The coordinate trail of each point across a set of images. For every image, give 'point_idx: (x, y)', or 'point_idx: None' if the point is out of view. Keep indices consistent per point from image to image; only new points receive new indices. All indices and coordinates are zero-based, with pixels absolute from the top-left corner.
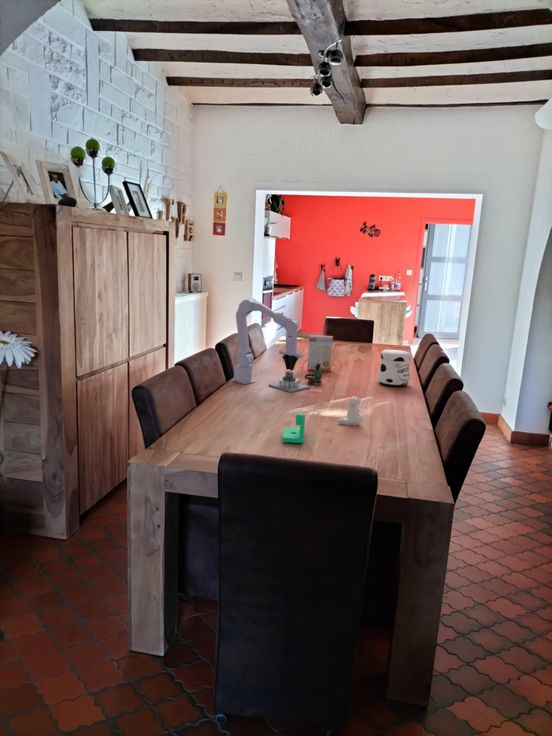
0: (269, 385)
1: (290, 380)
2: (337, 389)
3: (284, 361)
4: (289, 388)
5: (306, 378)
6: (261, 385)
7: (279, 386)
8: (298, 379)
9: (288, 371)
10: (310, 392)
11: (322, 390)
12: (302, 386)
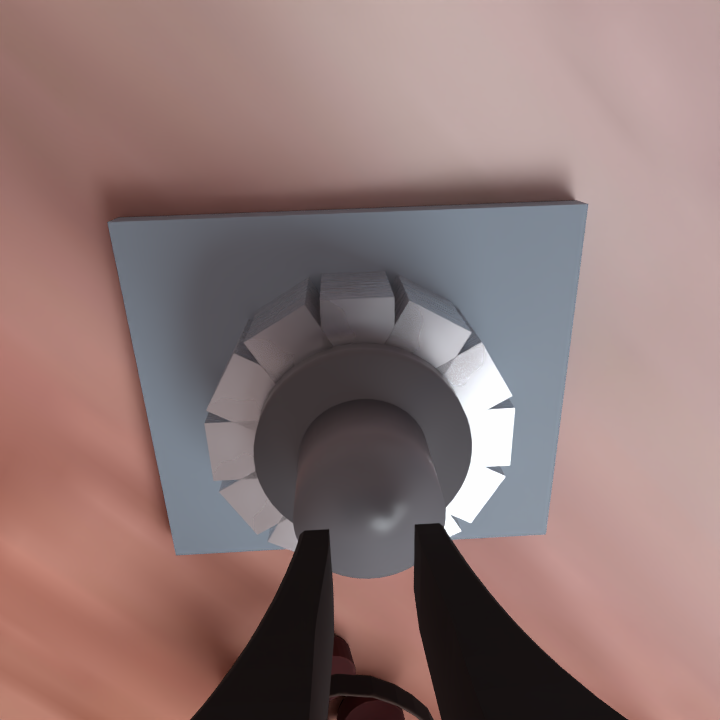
0: (565, 203)
1: (271, 394)
2: (14, 712)
3: (537, 648)
4: (227, 292)
5: (348, 680)
6: (679, 139)
7: (395, 250)
8: (285, 543)
9: (412, 531)
10: (21, 435)
11: (43, 589)
12: (222, 496)
